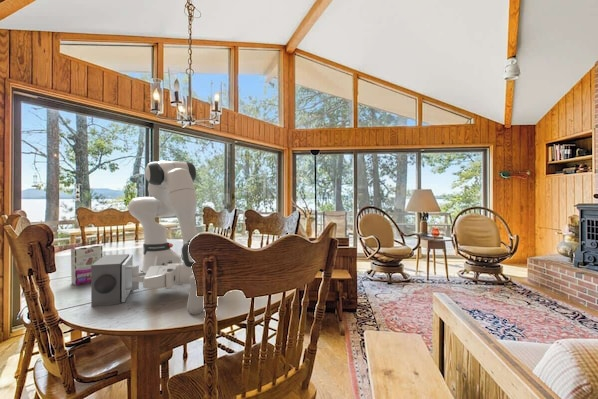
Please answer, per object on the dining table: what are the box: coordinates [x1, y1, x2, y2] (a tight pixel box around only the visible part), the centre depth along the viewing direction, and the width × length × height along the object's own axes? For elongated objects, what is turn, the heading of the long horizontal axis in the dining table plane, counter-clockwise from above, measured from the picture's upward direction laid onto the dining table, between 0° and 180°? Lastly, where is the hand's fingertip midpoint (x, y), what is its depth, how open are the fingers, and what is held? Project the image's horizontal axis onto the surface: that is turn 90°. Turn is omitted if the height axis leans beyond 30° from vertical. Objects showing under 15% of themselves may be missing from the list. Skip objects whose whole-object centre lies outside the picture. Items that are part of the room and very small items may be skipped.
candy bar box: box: [70, 243, 104, 286], centre depth 136 cm, size 11×5×16 cm, turn 148°
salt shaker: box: [186, 275, 204, 316], centre depth 103 cm, size 6×6×13 cm
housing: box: [90, 253, 130, 308], centre depth 116 cm, size 20×9×15 cm, turn 20°
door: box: [121, 254, 140, 303], centre depth 120 cm, size 18×5×14 cm, turn 21°
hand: (133, 277), depth 115 cm, fingers open, 2 cm apart
